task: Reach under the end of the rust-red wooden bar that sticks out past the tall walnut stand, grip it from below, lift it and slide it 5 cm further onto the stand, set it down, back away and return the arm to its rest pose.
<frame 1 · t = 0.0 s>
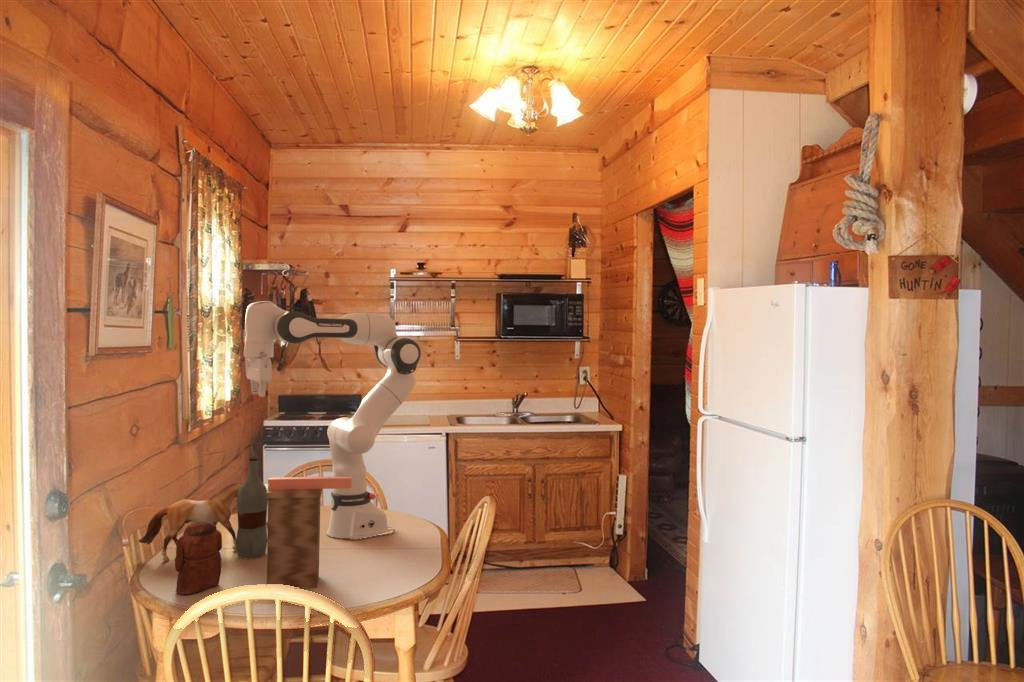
hand: (258, 395, 238), 48 cm above the table, tool pointing down, fingers open, 8 cm apart
bottle: (251, 555, 228), on the table
stand: (293, 582, 204), on the table
horse figurine: (193, 553, 229), on the table
wooden figurine: (197, 589, 198), on the table
candle holder: (267, 520, 270), on the table
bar: (310, 488, 205), point 26 cm above the table, touching stand
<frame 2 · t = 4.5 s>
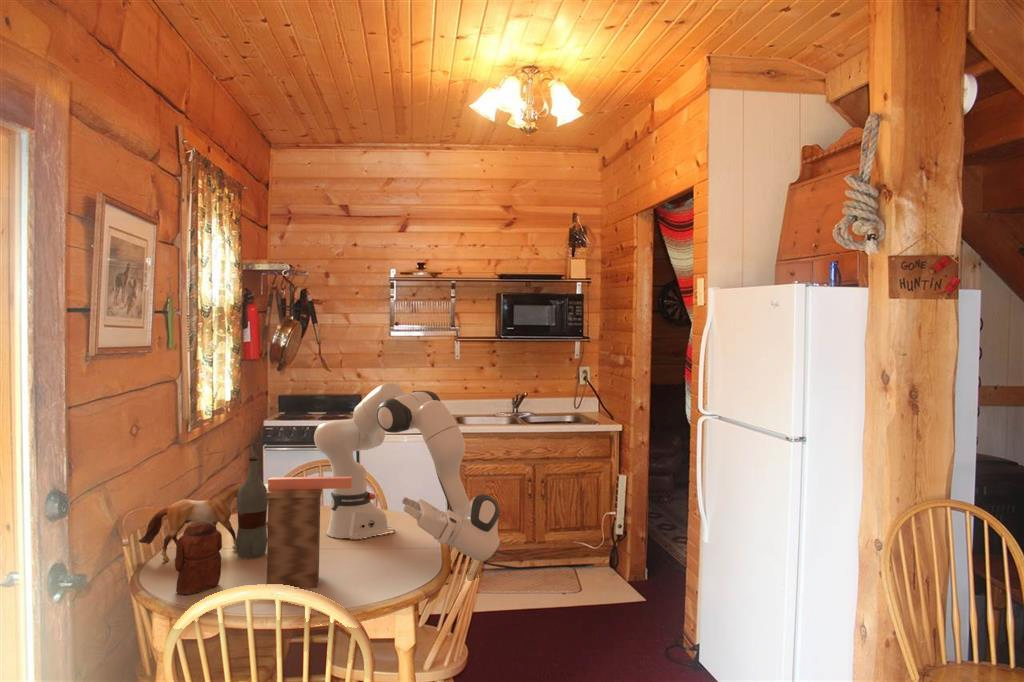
hand: (403, 503, 210), 21 cm above the table, tool pointing upward, fingers open, 8 cm apart
nothing on the table moved.
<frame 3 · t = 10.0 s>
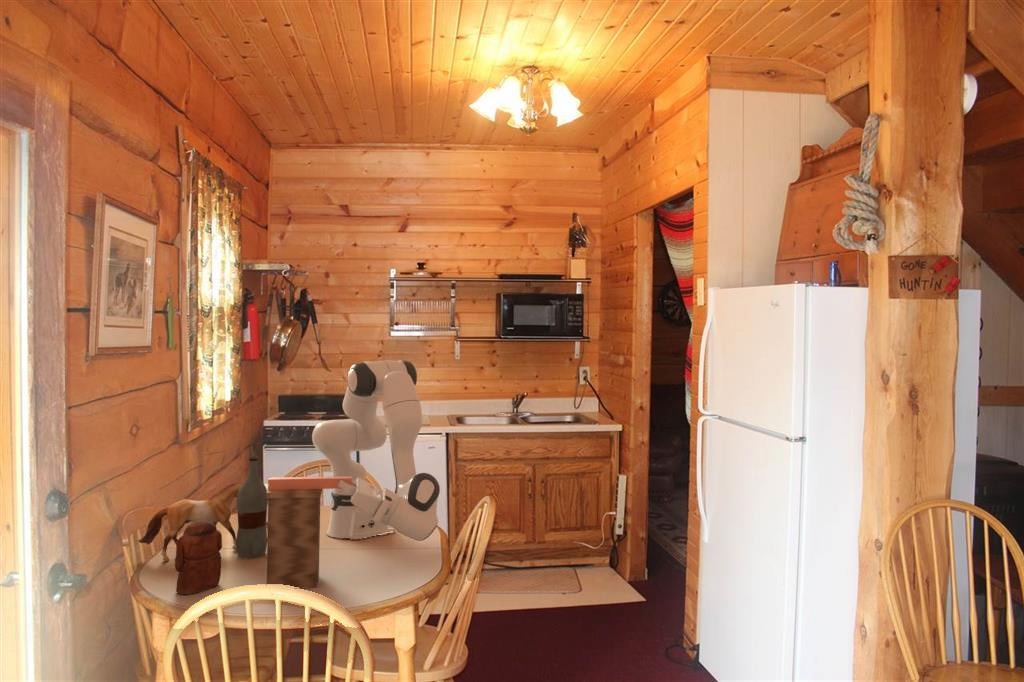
hand: (339, 480, 206), 28 cm above the table, tool pointing upward, fingers closed on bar, 3 cm apart
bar: (310, 488, 205), point 26 cm above the table, touching gripper, stand
everything else where it was.
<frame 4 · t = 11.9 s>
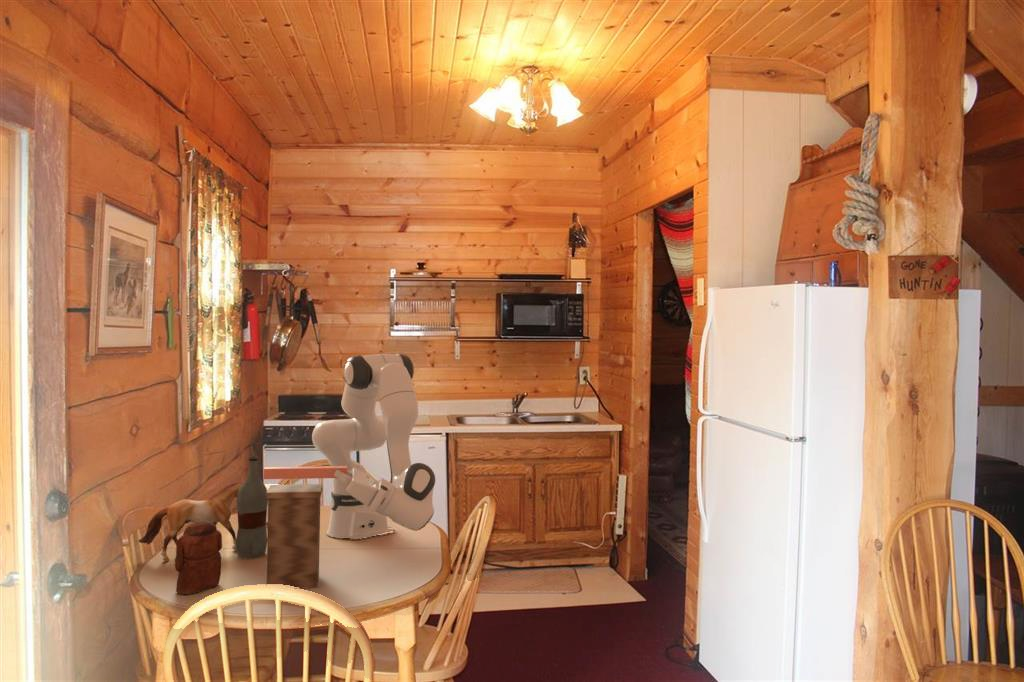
hand: (335, 470, 206), 31 cm above the table, tool pointing upward, fingers closed on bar, 3 cm apart
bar: (306, 477, 205), point 29 cm above the table, touching gripper
everything else where it was.
when the fingers open (29 cm above the table, at t = 13.5 s): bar drops 1 cm, resting on stand.
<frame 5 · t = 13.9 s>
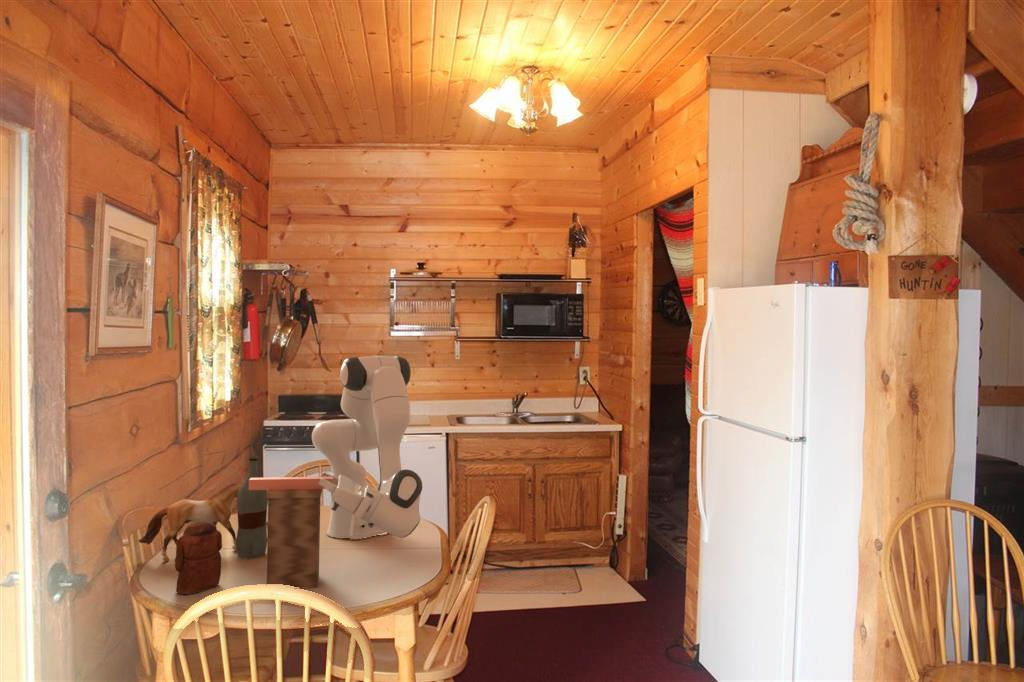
hand: (320, 477, 205), 29 cm above the table, tool pointing upward, fingers open, 6 cm apart
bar: (291, 488, 204), point 26 cm above the table, touching stand
everything else where it was.
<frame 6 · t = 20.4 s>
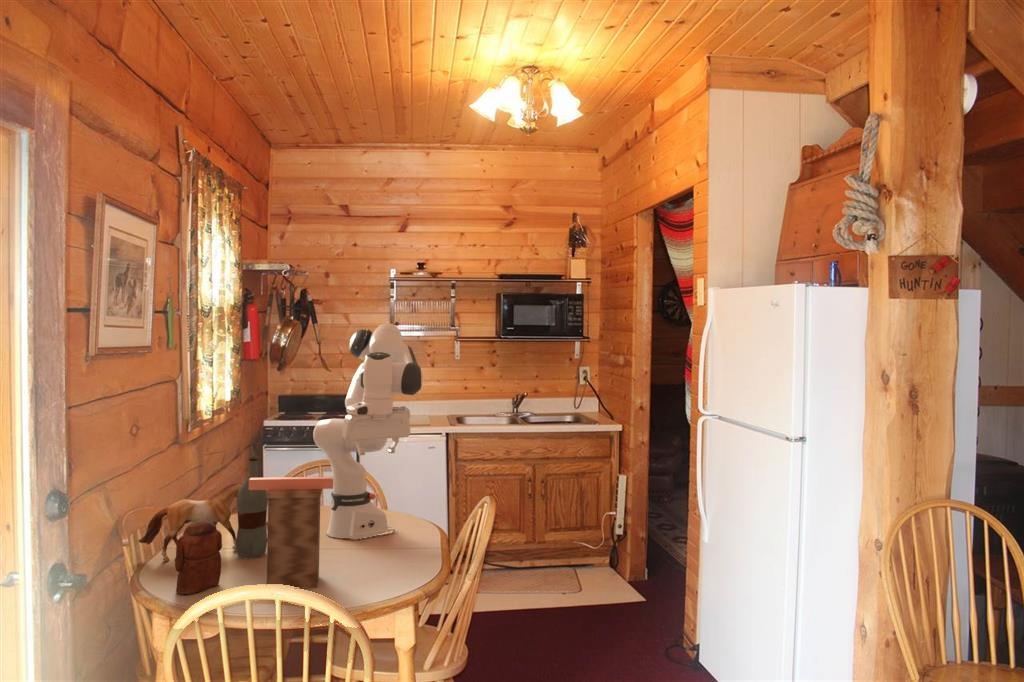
hand: (376, 453, 222), 33 cm above the table, tool pointing down, fingers open, 8 cm apart
nothing on the table moved.
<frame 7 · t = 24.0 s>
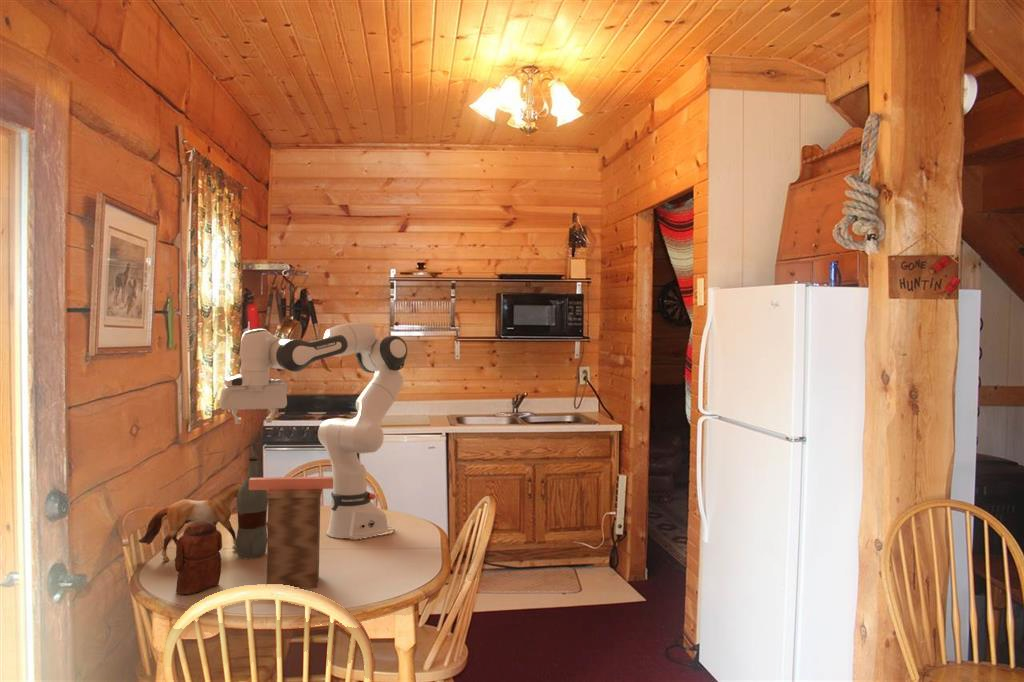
hand: (253, 423, 238), 39 cm above the table, tool pointing down, fingers open, 8 cm apart
nothing on the table moved.
at the end: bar inside the target area on the stand (0.5 cm from its centre), point 26.0 cm above the stand's base; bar tilted 0°; the gripper is holding nothing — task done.
